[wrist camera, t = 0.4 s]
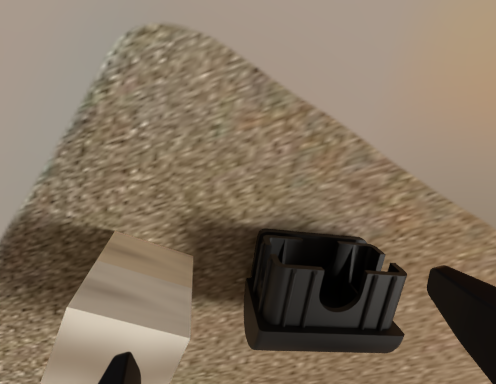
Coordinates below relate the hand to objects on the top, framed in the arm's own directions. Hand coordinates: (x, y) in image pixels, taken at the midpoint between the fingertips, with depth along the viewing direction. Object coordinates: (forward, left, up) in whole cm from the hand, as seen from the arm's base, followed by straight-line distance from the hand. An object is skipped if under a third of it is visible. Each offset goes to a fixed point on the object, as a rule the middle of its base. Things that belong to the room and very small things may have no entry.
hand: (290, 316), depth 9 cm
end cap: (-5, -8, -15) cm, 18 cm away
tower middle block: (-10, +4, -11) cm, 15 cm away
